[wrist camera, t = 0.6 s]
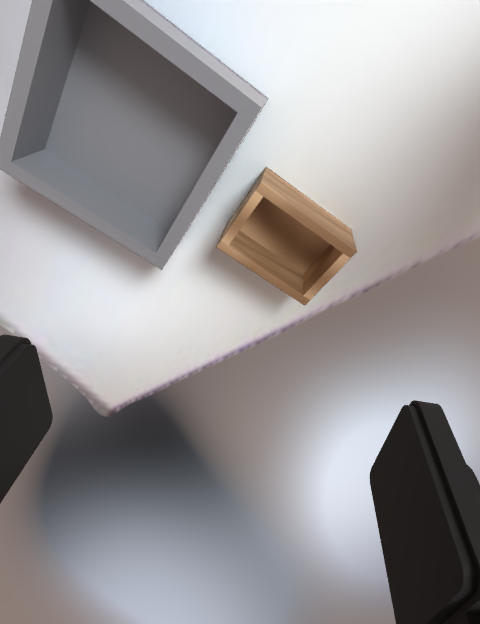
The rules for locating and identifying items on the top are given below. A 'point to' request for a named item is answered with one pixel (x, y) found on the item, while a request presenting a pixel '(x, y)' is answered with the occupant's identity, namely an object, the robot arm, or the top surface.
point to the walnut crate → (287, 238)
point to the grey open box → (122, 120)
